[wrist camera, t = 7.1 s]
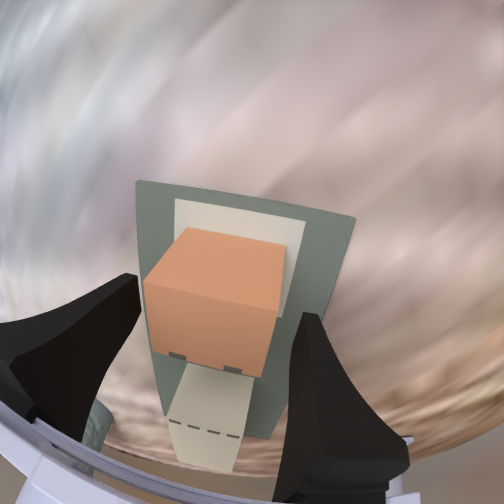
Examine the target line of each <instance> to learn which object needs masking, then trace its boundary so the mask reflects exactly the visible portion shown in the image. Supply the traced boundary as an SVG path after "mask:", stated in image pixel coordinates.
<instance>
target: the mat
mask: <svg viewBox="0 0 504 504" xmlns="http://www.w3.org/2000/svg"><path fill="white" fill-rule="evenodd" d="M136 220H137V239H138V254H139V266H140V277H141V286H142V295H143V303H144V311H145V318H146V325H147V332H148V338H149V344H150V350H151V356H152V361H153V367H154V372H155V377H156V382H157V386H158V391H159V395H160V400H161V404H162V408H163V412H164V416H167V414H168V411H169V409H170V406H171V404H172V401H173V398H174V396H175V393H176V391H177V388H178V386H179V383H180V381H181V378H182V376H183V373H184V371H185V368H186V366H187V363H191V364H195V365H199V366H203V367H207V368H211V369H215V370H220V371H224V372H229V371H225V370H221V369H217V368H213V367H209V366H204V365H200V364H196V363H193V362H189V361H184V360H180V359H177V358H173V357H170V356H167V355H164V354H160V353H157V352H154V351H152V346H151V340H150V333H149V326H148V319H147V312H146V304H145V295H144V286H143V281H144V279H145V278H146V277H147V276H148V274H149V273H150V272H151V270H152V269H153V268H154V267H155V265H156V264H157V263H158V262H159V260H160V259H161V258H162V257H163V255H164V254H165V253H166V252H167V250H168V249H169V248H170V247H171V245H172V244H173V243H174V242H175V241H176V239H177V238H178V237H179V236H180V234H181V233H182V232H183V231H184V230H185V228H186V227H190V228H196V229H201V230H207V231H212V232H217V233H223V234H228V235H234V236H239V237H244V238H249V239H255V240H260V241H265V242H271V243H276V244H281V245H286V246H285V256H284V265H283V275H282V284H281V293H280V302H279V310H278V315H277V319H276V322H275V326H274V330H273V334H272V338H271V341H270V345H269V349H268V352H267V356H266V360H265V363H264V367H263V370H262V374H261V377H255V376H250V375H245V374H239V373H234V372H229V373H233V374H238V375H243V376H248V377H253V378H254V382H253V387H252V393H251V398H250V403H249V408H248V413H247V418H246V424H245V429H244V434H243V435H245V436H250V437H256V438H262V439H269V437H270V435H271V433H272V431H273V429H274V427H275V425H276V423H277V421H278V419H279V417H280V415H281V413H282V410H283V408H284V406H285V404H286V402H287V400H288V398H289V364H290V356H291V349H292V344H293V341H294V338H295V335H296V332H297V329H298V326H299V323H300V320H301V317H302V314H303V312H308V313H314V314H318V315H319V317H320V320H322V317H323V315H324V312H325V309H326V307H327V304H328V301H329V298H330V296H331V293H332V290H333V287H334V285H335V282H336V279H337V276H338V273H339V270H340V267H341V264H342V261H343V258H344V255H345V252H346V249H347V246H348V242H349V239H350V236H351V233H352V229H353V226H354V223H355V218H354V217H350V216H345V215H341V214H336V213H332V212H327V211H322V210H317V209H313V208H308V207H303V206H298V205H293V204H288V203H282V202H277V201H272V200H266V199H261V198H255V197H249V196H244V195H238V194H232V193H226V192H219V191H213V190H206V189H200V188H193V187H186V186H179V185H172V184H164V183H156V182H148V181H140V180H138V181H136Z"/></svg>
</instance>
